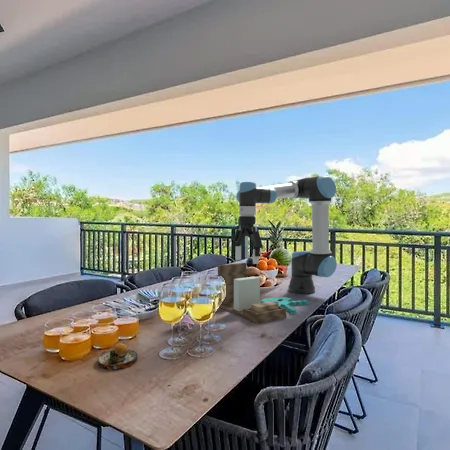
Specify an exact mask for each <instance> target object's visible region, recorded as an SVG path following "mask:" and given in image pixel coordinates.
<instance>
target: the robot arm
mask: <svg viewBox="0 0 450 450" xmlns="http://www.w3.org/2000/svg"><path fill="white" fill-rule="evenodd" d="M336 194H337V185H336V183H335V180H334V179H333V178H332V177H331V176H328V175H319V176H313V177H312V176H310V177H308V176H307V177H304V178H300V179H296V180H291V181H288V182H287V183H281V184H272V185H265V186H257V183H256V182H255V181H242V182H240V184H239V190H238V191H237V192H236V200H237V202H238V204H239V207H238V208H239V217H238V218H239V219H238V224H239V225H237V226H236V230H235V234H234V237H233V241H232V245H234V247H235V261H241V260H242V243H243V240H244V239H245V237H248V238H249V239H250V242H251V245H252V247H253V249H252V264H253V265H255V264H256V265H258V264H260V259H259V258H260V250H261V249H262V248H263V247H264V246H263V242H262V238H261V235H260V232H259V230H260V229H259V226H254V225H256V218H257V217H256V215H257V212H256V210H257V209H256V208H257V207H256V205H257V204H267V205H269V204H274V203H275V202H276V200H278V199H285V198H290V199H308V202H309V203H310V204H311V221H312V223H311V225H312V227H311V228H312V229H311V230H312V232H311V233H312V234H311V236H312V239H311V240H312V243H311V244H312V245H311V246H312V249H311V250H300V251H299V250H298V251H293V252H292V253H291V265H290V266H291V275H290V281H289V284H288V286H287V290H288V292H291V293H294V294H313V293H315V292H316V288H315V287H316V286H315V285H314V280H313V276H316V277H319V278H329V277H332V276H333V275H334V273H335V272H336V270H337V265H338V263H337V260H336V257H334V256H333V251H331V250H330V239H329V238H330V236H329V235H330V234H329V232H330V229H329V228H330V227H329V225H330V222H329V220H330V219H329V217H330V214H329V212H330V211H329V205H330V203H332V199H333V198H334V197H335V195H336Z"/></svg>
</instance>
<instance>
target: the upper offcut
mask: <svg viewBox="0 0 450 450" xmlns="http://www.w3.org/2000/svg"><path fill="white" fill-rule="evenodd" d="M277 309H278V303H275V302H272V301H269V302H263V303H258V304H252V305H251V311H254V312H256V313H262V312H267V311H272V310H277Z"/></svg>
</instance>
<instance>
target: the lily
mask: <svg viewBox="0 0 450 450" xmlns="http://www.w3.org/2000/svg"><path fill="white" fill-rule="evenodd" d="M181 322H182V323H183V322H184V323H185V324H186V327H188V330H190V324H192V325H195V323H194V321H193V320H192V318H191V317H190V316H189V315H185V317H184V319H183V320H182V321H181ZM173 326H174V327H175V326H176V325H175V324H174V325H173Z"/></svg>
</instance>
